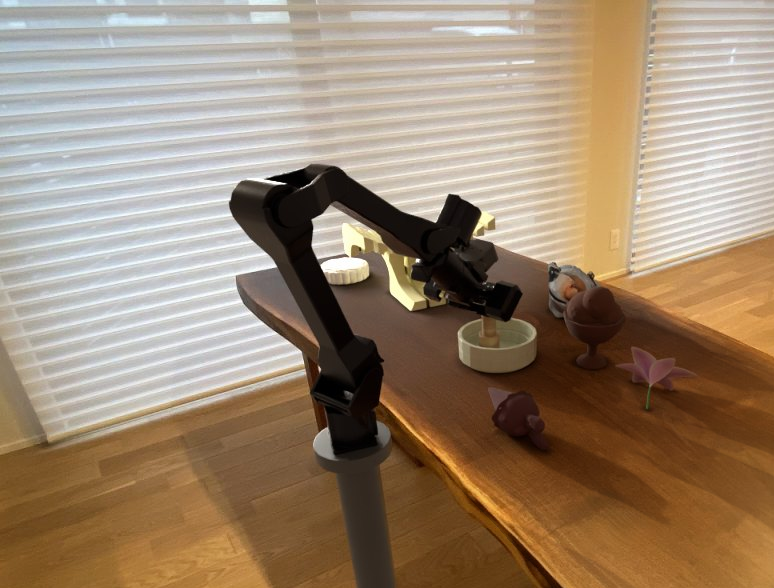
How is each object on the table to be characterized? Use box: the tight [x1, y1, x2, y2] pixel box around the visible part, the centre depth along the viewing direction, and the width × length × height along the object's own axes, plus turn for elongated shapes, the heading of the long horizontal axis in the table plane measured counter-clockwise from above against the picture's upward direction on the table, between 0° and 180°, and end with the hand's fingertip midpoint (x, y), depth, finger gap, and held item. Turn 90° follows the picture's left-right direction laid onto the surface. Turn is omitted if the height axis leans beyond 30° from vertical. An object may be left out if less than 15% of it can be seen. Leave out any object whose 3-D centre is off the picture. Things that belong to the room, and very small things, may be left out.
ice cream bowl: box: [563, 285, 627, 370], centre depth 110 cm, size 11×11×15 cm
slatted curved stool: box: [341, 210, 496, 312], centre depth 140 cm, size 30×16×18 cm, turn 120°
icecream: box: [487, 386, 549, 451], centre depth 92 cm, size 7×7×15 cm
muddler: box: [479, 290, 500, 348], centre depth 112 cm, size 4×4×12 cm
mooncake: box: [320, 256, 370, 286], centre depth 154 cm, size 12×12×4 cm
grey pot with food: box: [547, 261, 601, 319], centre depth 129 cm, size 15×12×14 cm
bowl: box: [457, 317, 538, 374], centre depth 114 cm, size 14×14×5 cm
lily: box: [614, 346, 699, 410], centre depth 100 cm, size 12×12×10 cm
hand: (493, 313), depth 112 cm, fingers closed on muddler, 2 cm apart
